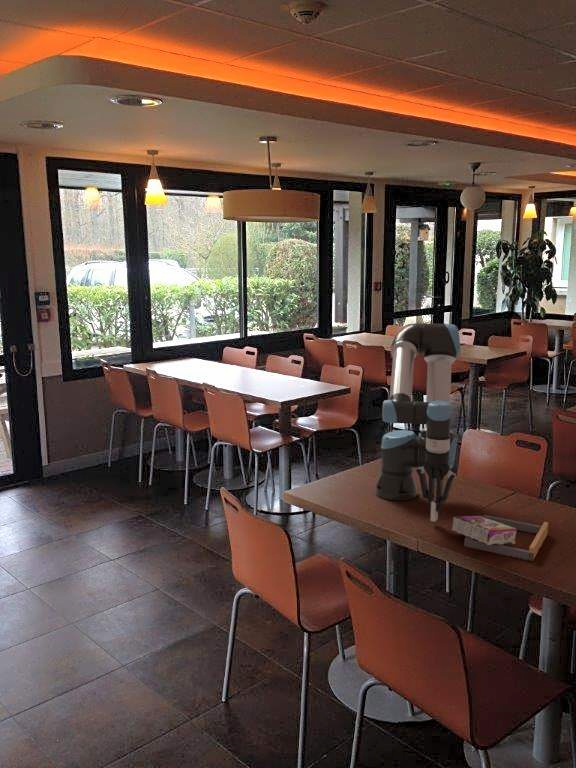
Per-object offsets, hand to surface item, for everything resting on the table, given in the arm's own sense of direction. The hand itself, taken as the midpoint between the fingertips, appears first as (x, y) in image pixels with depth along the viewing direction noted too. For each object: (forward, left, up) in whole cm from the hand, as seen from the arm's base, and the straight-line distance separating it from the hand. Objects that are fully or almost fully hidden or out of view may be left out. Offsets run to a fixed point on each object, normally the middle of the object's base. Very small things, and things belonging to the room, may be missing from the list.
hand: (434, 519), depth 222 cm
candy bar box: (+10, 0, +1) cm, 10 cm away
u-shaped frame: (+23, 0, -2) cm, 23 cm away
